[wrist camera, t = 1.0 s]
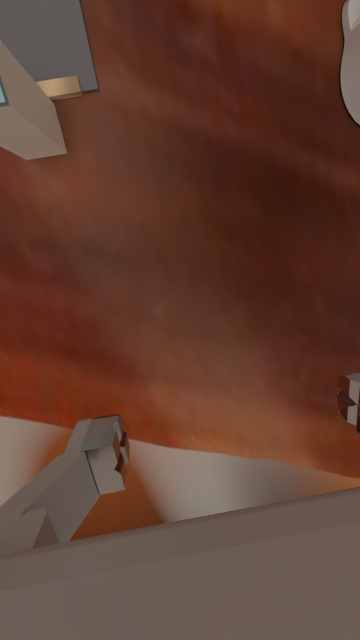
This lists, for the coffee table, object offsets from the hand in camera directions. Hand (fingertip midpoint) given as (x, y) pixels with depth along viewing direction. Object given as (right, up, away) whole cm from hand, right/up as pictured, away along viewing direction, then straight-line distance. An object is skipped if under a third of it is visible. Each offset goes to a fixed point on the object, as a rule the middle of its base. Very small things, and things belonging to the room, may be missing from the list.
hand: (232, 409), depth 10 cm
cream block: (-19, +26, +22) cm, 39 cm away
